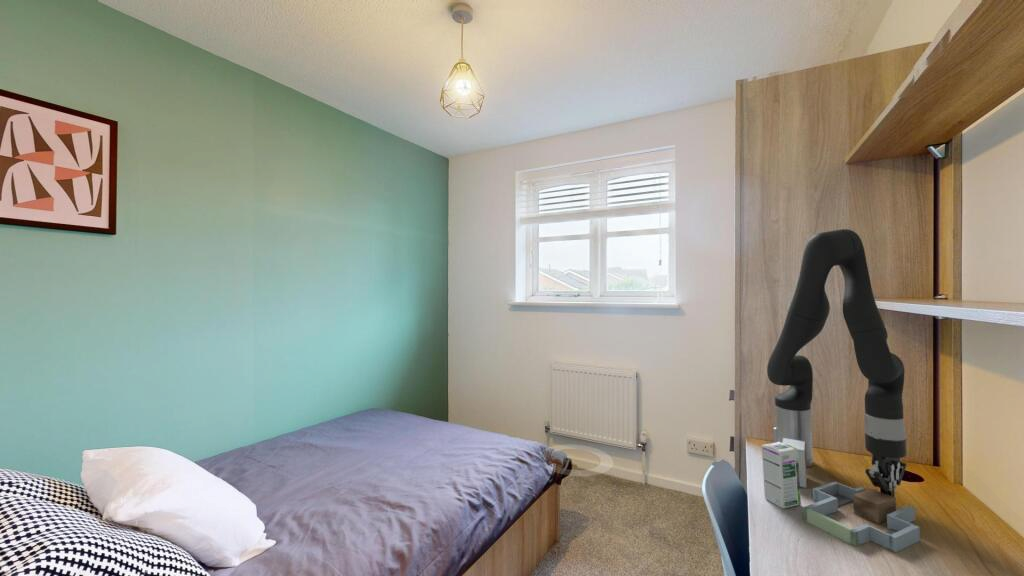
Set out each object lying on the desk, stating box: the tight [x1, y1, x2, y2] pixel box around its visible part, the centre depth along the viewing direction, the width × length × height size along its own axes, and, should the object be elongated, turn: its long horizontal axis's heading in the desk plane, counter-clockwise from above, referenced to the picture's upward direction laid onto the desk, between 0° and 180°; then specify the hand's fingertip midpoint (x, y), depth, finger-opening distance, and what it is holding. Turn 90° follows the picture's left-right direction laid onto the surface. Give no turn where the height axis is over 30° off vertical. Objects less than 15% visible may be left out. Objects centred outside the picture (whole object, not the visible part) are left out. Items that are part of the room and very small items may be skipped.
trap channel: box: [801, 481, 921, 553], centre depth 96 cm, size 20×22×3 cm
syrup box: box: [761, 442, 802, 510], centre depth 106 cm, size 6×6×14 cm
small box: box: [782, 438, 808, 489], centre depth 116 cm, size 8×6×10 cm
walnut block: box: [852, 488, 897, 525], centre depth 98 cm, size 5×7×4 cm
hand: (887, 503), depth 101 cm, fingers closed
